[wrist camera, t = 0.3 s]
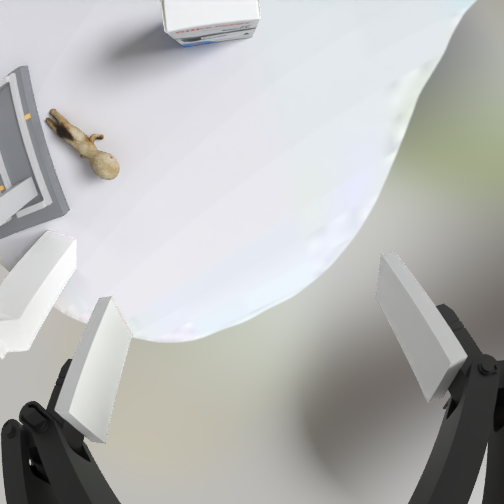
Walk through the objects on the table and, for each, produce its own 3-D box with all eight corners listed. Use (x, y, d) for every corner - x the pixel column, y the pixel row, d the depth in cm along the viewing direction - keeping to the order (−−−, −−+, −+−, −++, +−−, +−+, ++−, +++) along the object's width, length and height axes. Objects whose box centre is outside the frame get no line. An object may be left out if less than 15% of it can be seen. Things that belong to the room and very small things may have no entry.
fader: (14, 184, 34) (-26, 214, 25) (31, 176, 33) (-11, 205, 25) (21, 201, 35) (-17, 234, 27) (38, 194, 35) (-1, 227, 26)
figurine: (54, 124, 34) (120, 182, 37) (34, 126, 30) (101, 189, 32) (65, 103, 33) (133, 160, 35) (45, 103, 29) (116, 164, 31)
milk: (77, 237, 42) (8, 338, 23) (76, 268, 45) (20, 369, 26) (46, 229, 41) (-28, 320, 22) (48, 259, 43) (-15, 352, 25)
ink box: (183, 49, 29) (162, 34, 19) (178, 14, 27) (156, -12, 17) (253, 38, 29) (262, 19, 19) (248, 4, 27) (256, -27, 17)
